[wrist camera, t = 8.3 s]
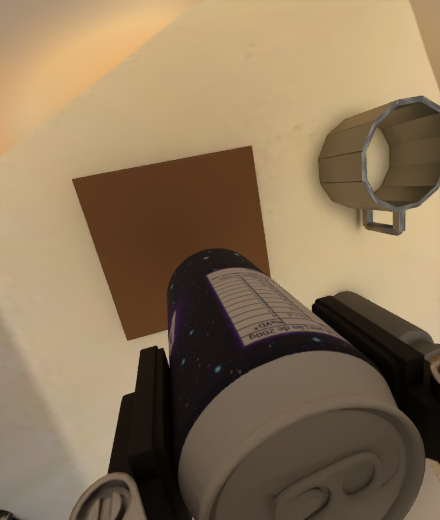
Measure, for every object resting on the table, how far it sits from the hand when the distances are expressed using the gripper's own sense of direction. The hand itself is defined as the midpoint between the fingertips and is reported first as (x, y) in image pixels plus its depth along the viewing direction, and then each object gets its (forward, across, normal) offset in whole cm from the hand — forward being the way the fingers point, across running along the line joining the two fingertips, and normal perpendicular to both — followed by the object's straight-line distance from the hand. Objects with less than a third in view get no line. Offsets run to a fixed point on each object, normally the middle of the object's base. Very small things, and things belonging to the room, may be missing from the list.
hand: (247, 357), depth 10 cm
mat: (+21, 0, 0) cm, 21 cm away
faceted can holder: (+21, -21, -3) cm, 30 cm away
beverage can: (+7, 0, 0) cm, 7 cm away
